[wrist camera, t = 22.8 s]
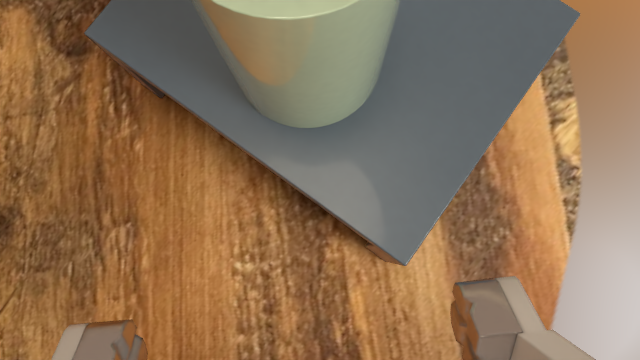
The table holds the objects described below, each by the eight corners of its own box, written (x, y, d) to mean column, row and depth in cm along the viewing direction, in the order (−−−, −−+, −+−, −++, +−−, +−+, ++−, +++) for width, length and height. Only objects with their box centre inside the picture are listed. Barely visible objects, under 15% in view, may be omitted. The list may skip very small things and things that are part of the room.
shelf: (519, 70, 28) (581, 13, 21) (386, 262, 27) (405, 266, 20) (280, -86, 30) (265, -186, 23) (142, 85, 29) (82, 32, 22)
